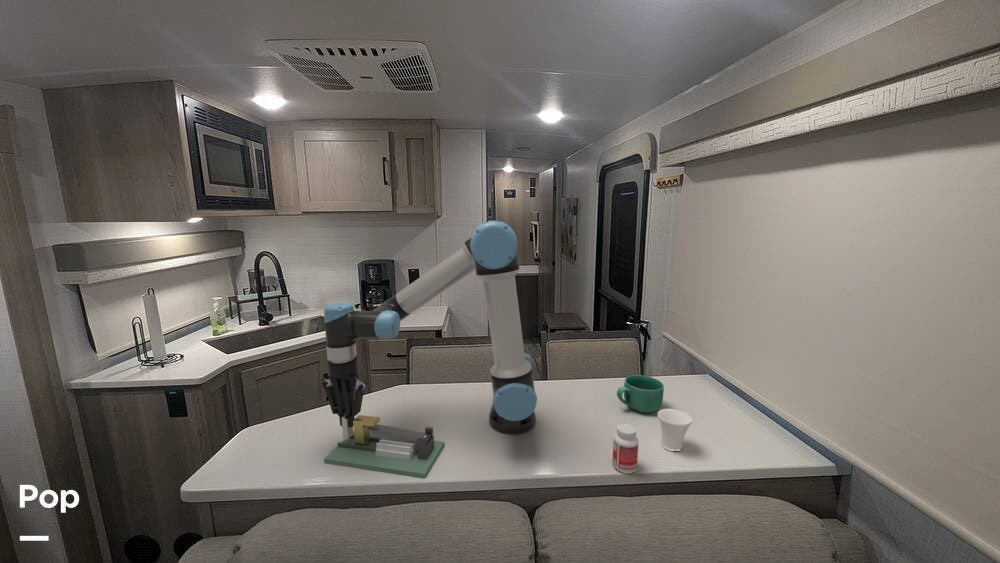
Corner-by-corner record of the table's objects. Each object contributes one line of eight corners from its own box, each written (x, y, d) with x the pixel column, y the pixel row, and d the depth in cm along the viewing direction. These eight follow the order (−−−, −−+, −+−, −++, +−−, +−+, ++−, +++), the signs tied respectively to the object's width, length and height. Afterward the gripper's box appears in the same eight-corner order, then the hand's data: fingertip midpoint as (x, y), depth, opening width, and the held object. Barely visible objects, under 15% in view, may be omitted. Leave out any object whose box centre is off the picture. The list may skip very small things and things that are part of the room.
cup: (647, 442, 108) (650, 411, 106) (671, 435, 111) (673, 405, 110) (672, 460, 100) (675, 426, 98) (696, 452, 103) (699, 419, 102)
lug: (381, 442, 105) (379, 417, 104) (375, 448, 102) (374, 422, 101) (360, 439, 107) (359, 414, 105) (354, 445, 104) (353, 420, 103)
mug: (647, 397, 135) (649, 373, 134) (670, 414, 123) (672, 388, 122) (606, 402, 132) (607, 377, 131) (625, 420, 120) (627, 393, 118)
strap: (431, 438, 102) (431, 432, 101) (426, 444, 99) (426, 438, 98) (372, 427, 105) (372, 421, 105) (366, 433, 102) (366, 427, 102)
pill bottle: (641, 469, 96) (644, 430, 95) (626, 478, 93) (629, 438, 91) (622, 456, 101) (624, 419, 100) (607, 464, 98) (609, 426, 96)
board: (444, 445, 106) (443, 422, 105) (424, 478, 93) (424, 451, 92) (354, 433, 112) (353, 411, 111) (324, 462, 99) (322, 437, 98)
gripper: (371, 355, 104) (375, 431, 108) (330, 352, 107) (336, 426, 111) (355, 365, 97) (361, 446, 101) (312, 361, 100) (319, 441, 103)
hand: (348, 436), depth 106 cm, fingers closed
